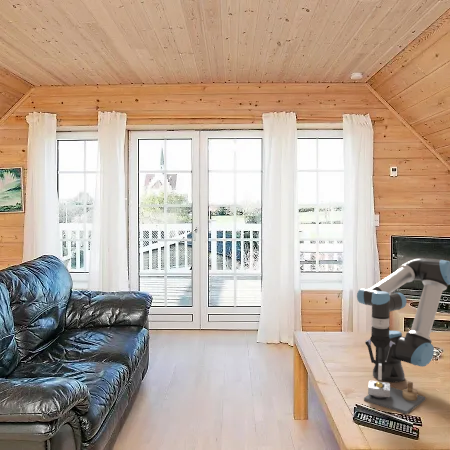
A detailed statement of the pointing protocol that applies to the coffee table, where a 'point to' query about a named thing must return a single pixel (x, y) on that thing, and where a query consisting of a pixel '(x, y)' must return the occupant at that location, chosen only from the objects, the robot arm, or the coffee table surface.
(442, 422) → the coffee table surface
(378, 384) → the cylinder
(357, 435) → the coffee table surface
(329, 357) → the coffee table surface
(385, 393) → the square hole frame
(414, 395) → the stand
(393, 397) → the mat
